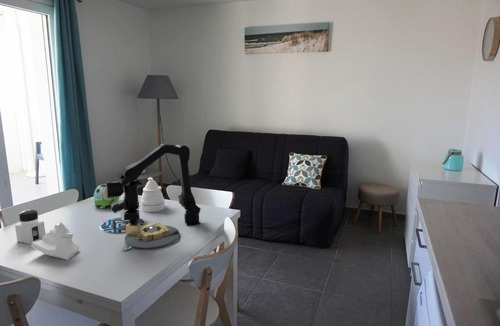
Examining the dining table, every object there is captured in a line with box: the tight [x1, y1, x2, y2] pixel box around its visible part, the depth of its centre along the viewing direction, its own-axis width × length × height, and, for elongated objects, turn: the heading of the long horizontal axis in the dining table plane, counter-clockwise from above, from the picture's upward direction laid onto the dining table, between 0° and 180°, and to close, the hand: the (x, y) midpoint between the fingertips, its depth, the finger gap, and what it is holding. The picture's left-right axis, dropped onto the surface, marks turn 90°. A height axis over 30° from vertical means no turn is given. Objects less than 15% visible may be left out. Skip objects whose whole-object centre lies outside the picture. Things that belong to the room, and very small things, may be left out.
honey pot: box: [140, 177, 166, 213], centre depth 184 cm, size 13×13×18 cm
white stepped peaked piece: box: [30, 221, 80, 261], centre depth 130 cm, size 12×15×14 cm
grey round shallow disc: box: [123, 224, 180, 253], centre depth 145 cm, size 23×23×5 cm
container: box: [14, 209, 46, 245], centre depth 143 cm, size 8×8×13 cm
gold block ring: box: [125, 222, 169, 241], centre depth 145 cm, size 19×15×4 cm
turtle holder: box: [93, 183, 121, 210], centre depth 188 cm, size 12×18×12 cm
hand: (132, 227), depth 149 cm, fingers closed
